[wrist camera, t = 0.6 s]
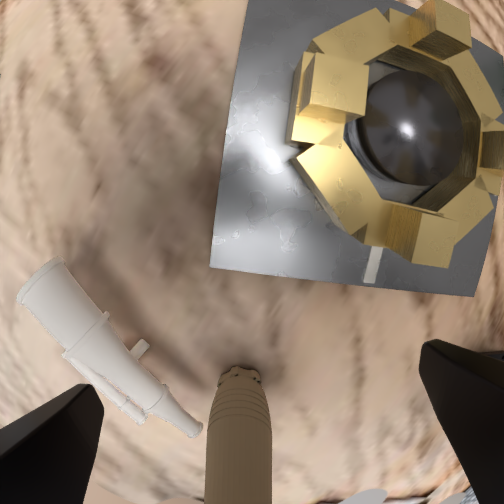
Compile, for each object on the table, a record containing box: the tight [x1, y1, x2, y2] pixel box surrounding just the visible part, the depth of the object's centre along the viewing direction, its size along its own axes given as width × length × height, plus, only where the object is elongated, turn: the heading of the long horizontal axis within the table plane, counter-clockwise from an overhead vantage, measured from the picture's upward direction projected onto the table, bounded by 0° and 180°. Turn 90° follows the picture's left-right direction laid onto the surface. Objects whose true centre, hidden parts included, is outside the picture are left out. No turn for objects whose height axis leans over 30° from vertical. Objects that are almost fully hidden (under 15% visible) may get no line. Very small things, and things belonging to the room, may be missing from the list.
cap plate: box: [210, 0, 504, 297], centre depth 16 cm, size 20×20×4 cm
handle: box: [204, 366, 272, 504], centre depth 15 cm, size 5×6×15 cm
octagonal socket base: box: [285, 0, 504, 268], centre depth 14 cm, size 13×13×6 cm
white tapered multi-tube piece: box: [16, 256, 203, 438], centre depth 19 cm, size 8×14×5 cm
